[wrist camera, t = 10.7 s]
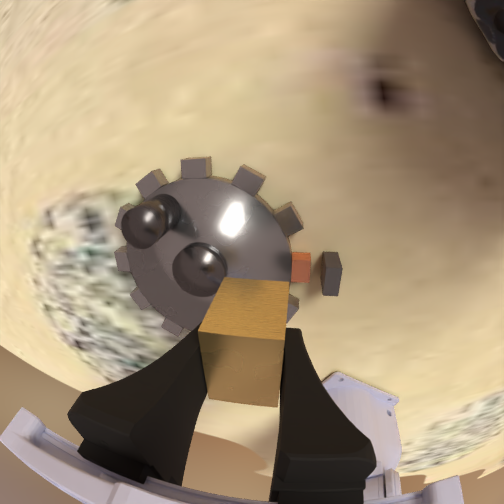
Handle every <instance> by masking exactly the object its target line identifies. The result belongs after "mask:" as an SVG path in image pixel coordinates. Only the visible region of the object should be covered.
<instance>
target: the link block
mask: <svg viewBox="0 0 504 504" xmlns="http://www.w3.org/2000/svg"><path fill="white" fill-rule="evenodd" d="M288 295H289V282H284V281H269V280H256V279H242V278H229V277H224V279H223V281H222V283H221V285H220V287H219V289H218V291H217V293H216V295H215V297H214V299H213V301H212V303H211V305H210V307H209V309H208V311H207V313H206V315H205V317H204V319H203V321H202V323H201V325H200V327H199V329H198V336H199V343H200V350H201V356H202V362H203V368H204V374H205V380H206V386H207V391H208V397H209V399H214V400H220V401H227V402H233V403H241V404H249V405H257V406H267V407H278V399H279V390H280V381H281V372H282V363H283V353H284V342H285V331H286V320H287V308H288Z"/></svg>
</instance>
